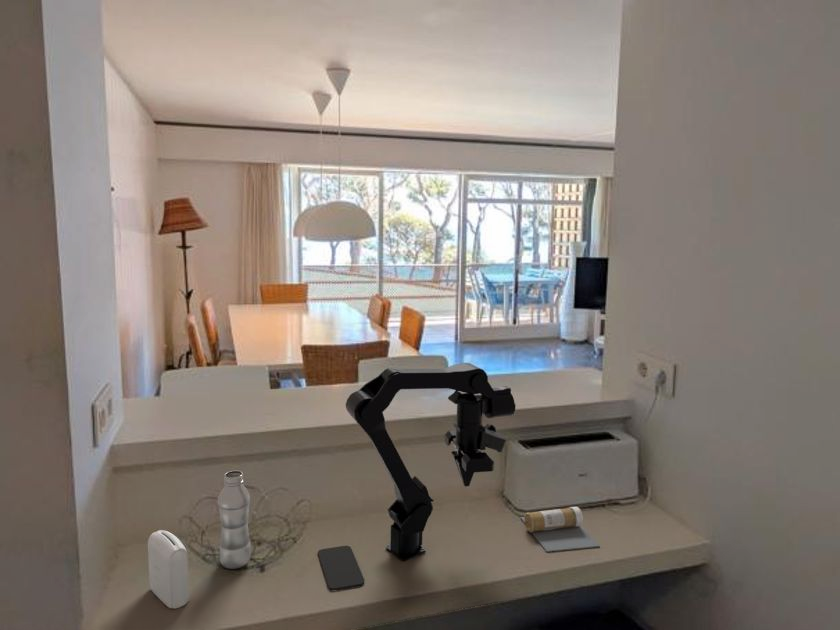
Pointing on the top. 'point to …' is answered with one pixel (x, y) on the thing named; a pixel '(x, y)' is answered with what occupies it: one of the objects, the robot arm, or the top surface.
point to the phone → (340, 568)
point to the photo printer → (168, 569)
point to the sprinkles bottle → (553, 519)
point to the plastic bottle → (234, 522)
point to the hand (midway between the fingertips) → (466, 485)
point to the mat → (564, 538)
